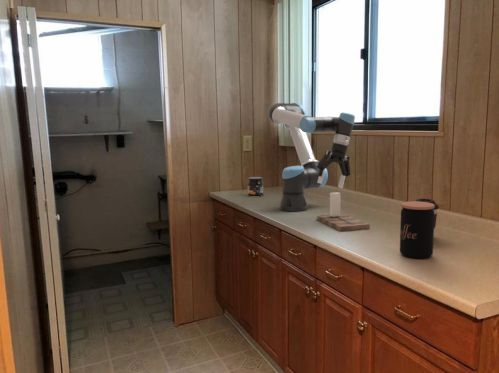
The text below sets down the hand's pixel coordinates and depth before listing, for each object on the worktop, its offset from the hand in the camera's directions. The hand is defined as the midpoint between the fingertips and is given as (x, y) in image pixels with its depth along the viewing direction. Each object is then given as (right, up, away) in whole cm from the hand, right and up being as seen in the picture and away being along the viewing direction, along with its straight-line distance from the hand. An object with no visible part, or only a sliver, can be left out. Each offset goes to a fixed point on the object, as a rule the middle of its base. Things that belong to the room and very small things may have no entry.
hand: (330, 185), depth 206 cm
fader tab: (+1, -14, -9) cm, 17 cm away
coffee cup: (+30, -21, -40) cm, 54 cm away
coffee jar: (+18, -24, -62) cm, 69 cm away
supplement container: (-36, -7, +69) cm, 78 cm away
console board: (+3, -18, -15) cm, 24 cm away
